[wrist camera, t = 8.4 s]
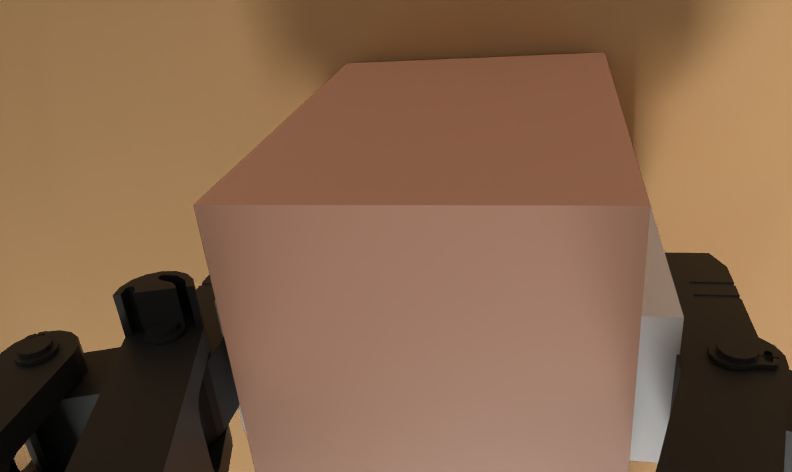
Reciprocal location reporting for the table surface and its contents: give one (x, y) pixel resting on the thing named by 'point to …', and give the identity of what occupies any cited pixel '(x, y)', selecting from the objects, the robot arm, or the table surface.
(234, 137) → the table surface
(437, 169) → the pink block
